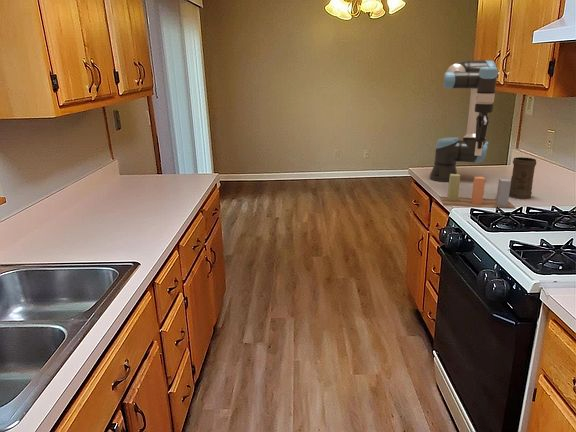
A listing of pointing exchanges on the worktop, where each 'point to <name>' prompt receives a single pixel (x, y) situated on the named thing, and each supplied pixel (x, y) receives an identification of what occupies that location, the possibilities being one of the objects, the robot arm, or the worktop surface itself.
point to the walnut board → (467, 203)
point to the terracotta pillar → (478, 190)
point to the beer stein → (522, 178)
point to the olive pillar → (453, 187)
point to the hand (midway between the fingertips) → (477, 155)
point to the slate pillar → (503, 192)
